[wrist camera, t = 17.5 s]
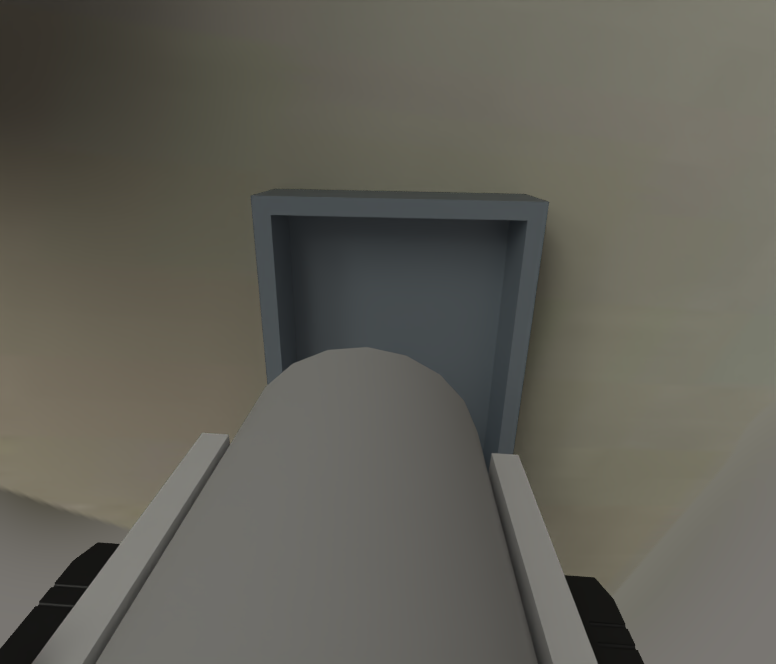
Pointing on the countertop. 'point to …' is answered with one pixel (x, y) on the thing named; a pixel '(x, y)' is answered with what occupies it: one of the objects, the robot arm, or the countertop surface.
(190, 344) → the countertop surface
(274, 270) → the tote
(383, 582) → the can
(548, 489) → the countertop surface
